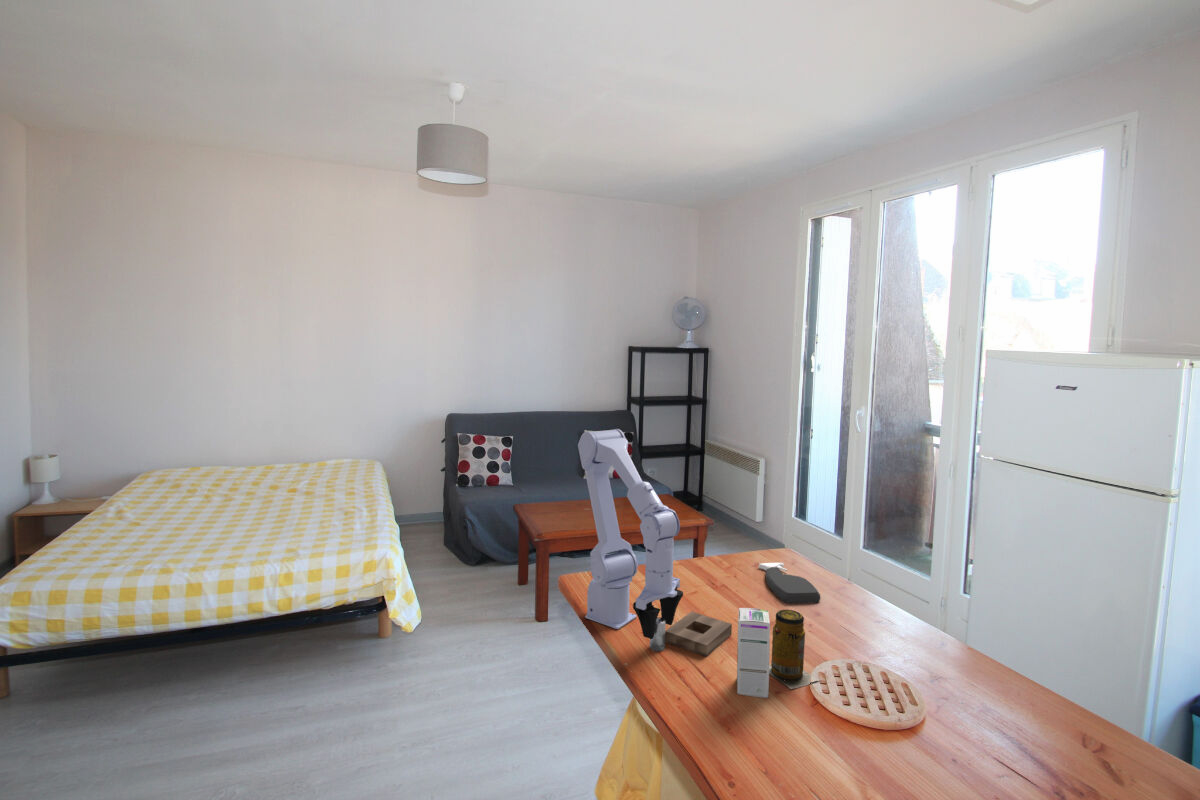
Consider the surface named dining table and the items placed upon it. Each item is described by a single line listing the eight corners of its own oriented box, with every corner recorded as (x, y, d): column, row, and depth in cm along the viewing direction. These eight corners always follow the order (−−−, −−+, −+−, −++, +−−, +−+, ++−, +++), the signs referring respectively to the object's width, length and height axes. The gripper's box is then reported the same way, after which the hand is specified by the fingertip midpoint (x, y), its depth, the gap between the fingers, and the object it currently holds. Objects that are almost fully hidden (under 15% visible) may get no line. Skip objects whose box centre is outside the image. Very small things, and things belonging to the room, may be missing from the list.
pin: (646, 648, 131) (647, 621, 130) (654, 642, 134) (655, 615, 133) (659, 653, 129) (660, 625, 128) (667, 647, 132) (668, 620, 131)
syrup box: (768, 698, 113) (772, 623, 112) (735, 694, 115) (738, 619, 113) (766, 681, 119) (770, 609, 117) (735, 678, 120) (738, 606, 119)
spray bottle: (782, 605, 153) (750, 569, 178) (824, 604, 154) (787, 568, 179) (782, 593, 153) (750, 559, 178) (825, 593, 154) (787, 558, 178)
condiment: (788, 660, 127) (791, 604, 126) (819, 681, 119) (822, 622, 118) (760, 668, 124) (762, 611, 122) (790, 690, 116) (793, 629, 115)
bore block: (664, 641, 134) (664, 630, 133) (691, 621, 143) (691, 611, 143) (706, 656, 128) (706, 645, 128) (731, 634, 137) (731, 623, 137)
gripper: (657, 583, 121) (656, 649, 123) (692, 562, 133) (691, 623, 134) (627, 575, 126) (626, 639, 127) (664, 555, 137) (663, 614, 138)
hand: (658, 630), depth 131 cm, fingers open, 7 cm apart
